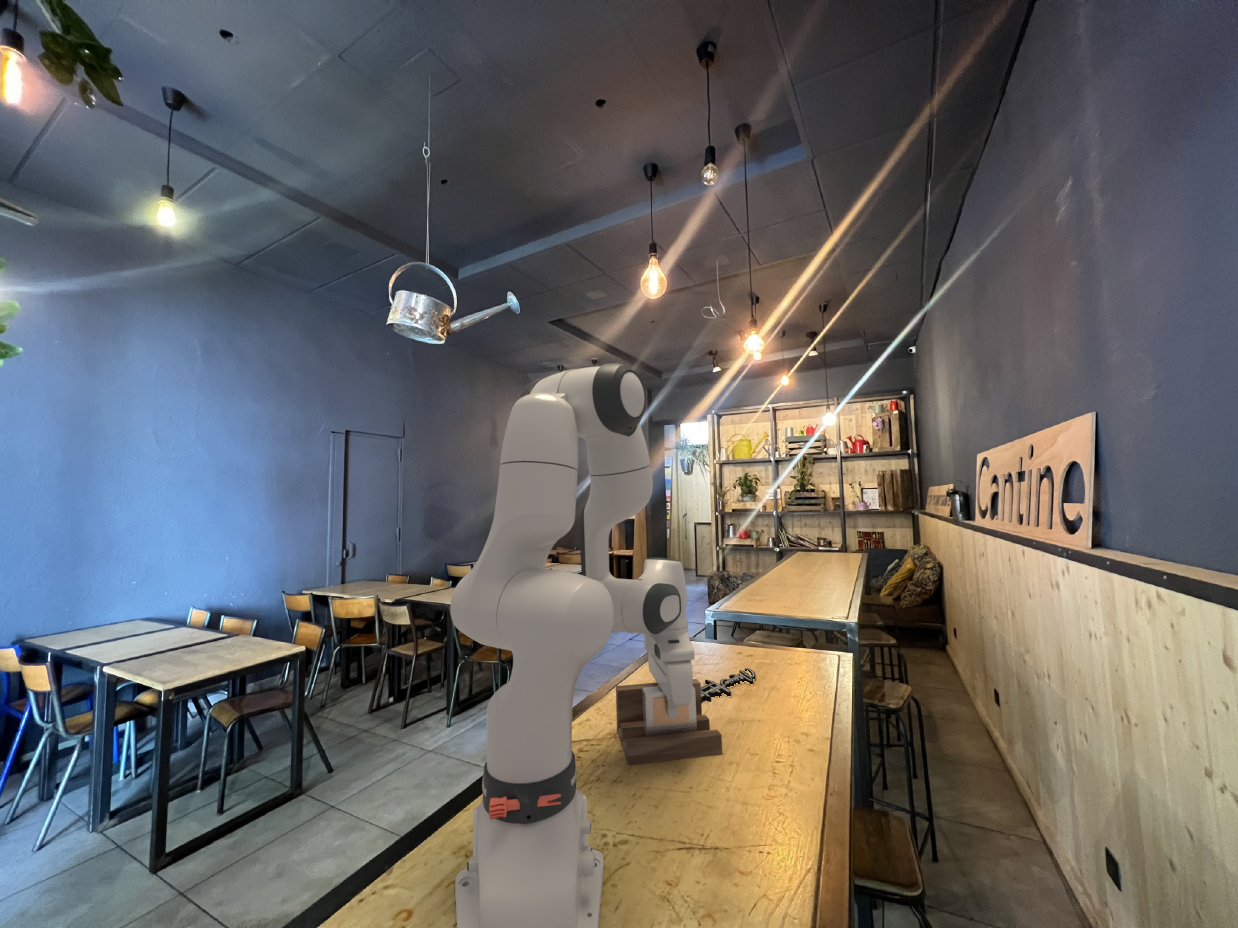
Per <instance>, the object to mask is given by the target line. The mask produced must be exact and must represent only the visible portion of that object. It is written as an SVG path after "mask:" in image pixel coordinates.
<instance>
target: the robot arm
mask: <svg viewBox="0 0 1238 928" xmlns="http://www.w3.org/2000/svg"><path fill="white" fill-rule="evenodd" d="M646 404H647V398H646V391H645V386H644V383H643V381H642V378H641V377H640V376H639V374H638V373H637V372H636V371H635V370H634V369H633V368H632V367H631V366H630V365H628V364H625V363H613V362H612V363H611V362H610V363H604V364H601V365H600V366H589V367H582V368H580V367H579V368H572V369H568V370H564V371H560V372H558V373H554V374H552V375H548V376H541V377H540V378H537V379H535V380H533V381H531V382H530V383H529V384H527V385H526V386H525V387H524V389H523V391H522V392H521V394H520V397H519V399H518V400H516V402H514V405H513V406H512V408H511V411H510V414H509V417H508V420H507V423H506V426H505V432H504V437H503V441H502V447H501V454H500V464H499V470H498V479H497V480H498V482H497V491H496V498H495V499H496V500H495V508H494V512H493V519H492V524H491V527H490V530H489V534H488V536H487V539H486V541H485V544H484V545H483V546H484V547H483V549H482V551H481V554H480V555H479V557H478V558H477V561H476V563H475V564H474V566H473V567H472V568H471V570H469V572H467V574H466V575H464V576H463V577H462V578H461V579H460V580H459V582H458V583H457V584H456V586H455V588H454V590H453V592H452V596H451V599H450V605H449V606H450V609H449V610H450V616H451V620H452V624H454V626H455V628H456V629H457V630H458V631H459V632H461V634H464V635H466V637H468V638H470V639H472V640H473V641H475V642H477V643H479V644H480V645H483V646H488V647H493V648H496V649H499V650H500V649H501V650H506V651H510V652H511V653H512V658H513V660H512V662H513V664H512V670H511V674H510V678H509V681H508V682H507V683H504V684H503V685H502V686H500V687H499V688H498V689H497V690H496V692H494V694H493V695H492V696H491V698H490V699H489V701H488V704H487V708H486V761H485V763H484V765H483V774H482V781H481V782H482V784H481V787H482V788H481V790H482V801H481V802H480V803H479V804H478V805H476V807H475V808H474V810H473V811H472V858H468V861H467V862H466V864H467V865H466V867H465V868H463V869H462V870H461V871H459V872H458V874H457V875H456V876H455V883H454V898H455V899H454V902H455V901H456V908H455V923H456V922H457V928H598V927H599V928H600V926H599V925H600V918H599V913H600V914H601V907H600V904H601V903H602V895H603V893H602V892H603V884H604V883H603V882H604V871H605V859H604V855H603V853H602V852H600V851H599V850H597V849H595V848H592V845H590V844H589V835H590V834H591V833H592V821H591V820H588V807H587V805H588V801H587V796H586V795H584V792H583V793H582V792H581V791H580V790H579V789H578V788H577V772H578V771H577V763H576V755H575V754H576V753H574V750H573V705H574V704H573V703H574V695H575V691H576V687H577V683H578V680H579V678H580V675H581V673H582V671H583V669H585V667H586V665H587V664H588V663H589V661H591V660H592V659H594V657H595V656H597V655H598V654H599V653H601V651H602V650H603V649H604V647H606V645H607V643H608V641H609V640H610V637H611V635H612V634H613V633H612V632H613V631H614V632H615V631H616V632H623V633H627V634H628V633H629V634H630V633H631V634H640V635H643V641H644V642H643V645H644V651H646V652H647V654H648V665H647V666H648V670H649V674H651V675H652V677H653V679H654V681H655V683H658V686H660V688H661V689H662V691H663V693H664V694H665V696H666V697H667V700H668V703H667V706H666V708H667V715H668V717H669V718H676V717H677V716H678V712H677V708H678V707H680V706H688V705H690V703H691V701H692V690H693V679H694V678H693V677H694V676H693V674H694V673H693V664H692V661H693V660H695V657H696V655H695V648H694V647H693V644H692V642H691V639H690V633H689V622H688V618H687V614H686V609H687V608H686V607H687V603H688V597H687V596H688V595H687V585H686V584H687V583H686V577H685V572H684V567H683V564H682V562H681V561H679V560H678V559H675V558H671V557H670V558H668V557H667V558H665V557H649V558H647V559H645V561H644V566H643V573H642V574H641V575H640V576H639V577H637V579H628V578H616V577H614V576H613V575H612V574H611V572H610V552H609V551H610V550H609V548H610V546H609V544H610V543H609V539H610V538H609V537H610V533H611V531H612V529H613V528H614V526H616V525H617V524H620V523H622V522H624V521H626V520H628V519H630V518H631V517H634V516H635V515H637V514H638V513H640V512H641V511H642V510H643V509H644V508H645V507H646V506H647V504H648V503H649V501H650V499H651V497H652V496H653V495H652V494H653V489H654V482H653V472H652V468H651V467H652V466H651V461H650V456H649V451H648V446H647V442H646V439H645V436H644V433H643V430H642V429H643V428H642V426H641V424H640V423H641V420H643V416H644V414H645V410H646ZM579 438H582V439H583V440H584V441H585V442H586V457H587V466H588V467H587V468H588V474H589V480H590V488H589V494H588V495H589V496H588V498H587V500H586V501H585V502H584V503H583V504H582V507H581V511H580V521H579V523H580V524H579V525H580V526H579V537H580V538H579V539H580V540H579V541H580V568H581V569H580V570H581V574H580V573H576V572H573V571H568V570H567V571H566V570H557V569H545V568H546V564H547V560H548V557H549V555H550V553H551V551H552V549H553V547H554V546H555V544H556V543H557V542H558V541H559V540H560V539H561V538H563V537H564V536H566V535H567V534H568V533H569V532H570V531H571V529H572V528H573V526H574V524H575V521H576V506H577V490H578V475H579V441H578V440H579ZM601 905H602V904H601Z"/></svg>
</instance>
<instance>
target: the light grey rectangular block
mask: <svg viewBox="0 0 1238 928" xmlns="http://www.w3.org/2000/svg"><path fill="white" fill-rule="evenodd" d="M642 698H643V728H644V732H645V734H646V736H647V737H650V736H659V735H668V734H677V733H685V732H694V731H697V720H696V697H695V688H694V687H693V690H692V701H691V703H690V705H688V706H680V707H678V708H677V712H678V716H677V717H676V718H669V717H668V715H667V708H666V706H667V703H668V700H667V697H666V696H665V694H664V693H663V691H662V689H661V688H660V686H655V687H645V688H642Z"/></svg>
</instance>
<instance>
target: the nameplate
mask: <svg viewBox="0 0 1238 928" xmlns="http://www.w3.org/2000/svg"><path fill="white" fill-rule="evenodd" d="M743 669H744V670H745V671H747V670H748V671H749V672H750V673H751V675H752V676H750V675H749V674H748V673H746V672H745V671H744V670H739V673H738V674H734V673H733V674H729V675H728V678H722V679H720V680H719V683H718V682H716V681H714V680H709V679H704V685H703V686H701V704H703V703H704V702H707V701H708V702H707V703H711V702H712V698H711V697H714V698H716V697H715V696H719V697H718V698H721V697H720V696H722V697H723V695H724V694H726V695H727V696H731V697H732V691H730V688H727V687H730V686H734V684H736V683H738V684H740V681H742V682H744V681H747V682H749V683H750V684H753V683H755V682H753V679H755V678H756V676H757V675H756V673H755V671H754V670H753V669H751V668H748V667H747V668H746V667H745V668H743ZM740 673H741V674H740ZM729 678H730V679H729ZM756 679H757V678H756ZM705 684H707V685H705ZM734 687H735V686H734ZM722 693H724V694H722ZM727 696H726V697H727Z"/></svg>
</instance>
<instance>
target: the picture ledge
mask: <svg viewBox="0 0 1238 928" xmlns="http://www.w3.org/2000/svg"><path fill="white" fill-rule="evenodd" d="M655 686H658V683H657V682H647V683H637V684H636V683H635V684H625V685H616V686H615V702H616V703H615V704H616V705H615V706H616V710H615V711H616V732H617V734H618V737H619V740H620V743H621V746H622V749H623V752H624V755H625V758H626V761H627V764H628V766H629V765H630V766H631V765H637V764H639V765H640V764H649V763H650V764H651V763H656V762H657V763H658V762H664V761H665V762H667V761H674V760H682V759H693V758H700V757H708V756H718V755H723V740H722V739H723V738H722V737H723V736H722V735H723V734H721V732H720V731H719V730H718V728H717V729H711V728H710V718H709V717H708V716H707V714H703V713H702V712H703V711H702V707H703V706H702V703H701V687H702V685H701V682H700V681H699V679H698V678H693V687H694V688H695V697H696V720H697V731H694V732H685V733H677V734H668V735H659V736H650V737H647V736H646V734H645V732H644V728H643V698H642V688H645V687H655Z"/></svg>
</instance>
